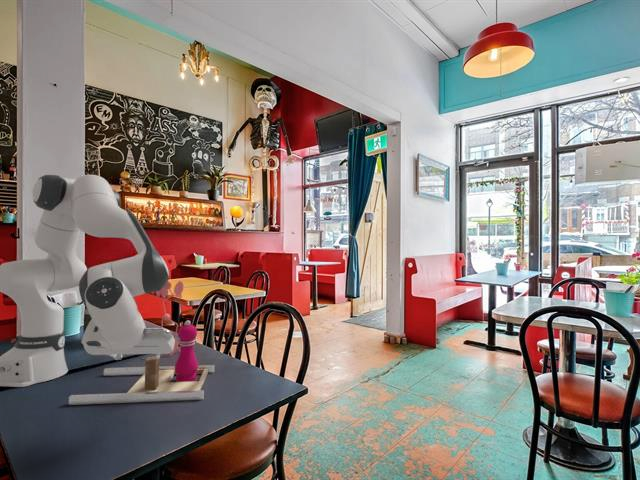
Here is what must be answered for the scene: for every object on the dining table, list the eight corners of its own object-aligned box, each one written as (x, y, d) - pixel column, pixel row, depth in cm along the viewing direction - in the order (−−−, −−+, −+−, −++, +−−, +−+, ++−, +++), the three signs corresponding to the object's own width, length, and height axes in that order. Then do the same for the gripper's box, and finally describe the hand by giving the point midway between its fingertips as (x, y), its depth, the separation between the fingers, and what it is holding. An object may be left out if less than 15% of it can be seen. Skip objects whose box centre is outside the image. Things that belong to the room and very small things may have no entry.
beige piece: (124, 400, 99) (125, 363, 99) (147, 374, 117) (148, 343, 117) (196, 397, 102) (197, 361, 102) (207, 372, 120) (208, 342, 120)
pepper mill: (189, 386, 109) (191, 323, 109) (169, 383, 111) (171, 322, 111) (201, 377, 116) (203, 318, 116) (182, 375, 118) (184, 317, 118)
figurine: (160, 343, 152) (160, 265, 152) (193, 356, 137) (194, 269, 136) (123, 352, 140) (124, 267, 139) (156, 368, 125) (157, 272, 124)
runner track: (68, 404, 95) (68, 396, 95) (105, 374, 117) (105, 367, 117) (203, 399, 101) (203, 391, 101) (214, 371, 122) (214, 365, 122)
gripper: (172, 318, 86) (181, 345, 96) (84, 318, 83) (102, 346, 93) (167, 341, 82) (176, 367, 91) (73, 342, 79) (93, 369, 88)
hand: (138, 356), depth 92 cm, fingers open, 8 cm apart
